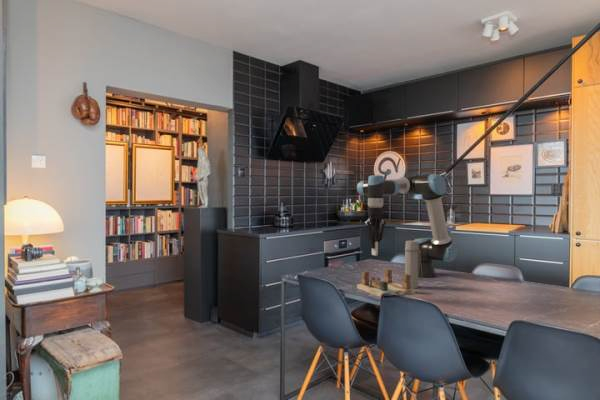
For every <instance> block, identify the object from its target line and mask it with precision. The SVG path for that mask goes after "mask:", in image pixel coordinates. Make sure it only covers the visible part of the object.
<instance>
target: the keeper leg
mask: <svg viewBox="0 0 600 400" xmlns="http://www.w3.org/2000/svg"><path fill="white" fill-rule="evenodd" d="M369 283H370V287H376V288H379V289H381V290H383V291H384V290H388V282H385V280H383V281H382V280H380V281H379V280H377V278H376V277H374V276H369Z"/></svg>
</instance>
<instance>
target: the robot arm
mask: <svg viewBox="0 0 600 400" xmlns="http://www.w3.org/2000/svg"><path fill="white" fill-rule="evenodd" d="M446 190H447V183H446V181H445V178H444V177H443V176H442V175H441V174H435V173H428V174H426V173H425V174H413V175H408V176H402V177H399V178H397V179H396V178H395V179H394V178H393V179H385V177H384V175H381V174H380V175H379V174H377V175H376V174H375V175H371V174H370V175H369V176H368V180H361V181H359V182H358V183H357V186H356V191H357V193H358V195H361V196H367V206H368V207H367V216H368V217H367V220H365V221H364V222H363V223H364V226H365V230H366V231H365V232H366V236H367V241H369V242H370V249H371V255H372V256H378V255H379V254H378V253H379V244H380V242H381V241H382V240H383V236H384V230H385V225H386V223H387V221H386V220H384V219H383V215H384V196H396V195H397V194H398V193H400V194H403V195H404V194H409V195H421V198H422V200H423V201H424V202H425V204H426V209H427V214H428V215H427V216H428V219H429V225H430V229H431V235H432V237H426V238H425V237H422V238H421V237H420V238H415V239H414V240H413V241H418V245H419V251H421V252H420V254H419V255H420V258H421V262H420V265H419V263H418V278H421V277H422V278H433V277H436V270H435V268H434V263H433V261H438V262H439V261H440V262H444V263H446V262H448V263H450V262H453V261H455V259H456V257H457V254H458V244H457V243H456V242H454V241H453V240H452V237H451V236H450V235H449V233H448V229H447V223H446V217H445V211H444V207H443V206H444V205H443V201H442V198H443V197H444V194H445V193H446ZM419 251H418V252H419ZM421 267H422V272H421Z"/></svg>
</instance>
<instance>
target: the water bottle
mask: <svg viewBox="0 0 600 400" xmlns="http://www.w3.org/2000/svg"><path fill="white" fill-rule="evenodd" d="M418 251H419V245H418V241H414V240H406V241H405V248H404V274H408V275H411V278H410V288H413V289H418V287H419V280H423V279H422V278H423V277H418V263H419V265H420V262H421V258H420V255H419V254H420V252H421V251H419V252H418ZM421 272H422V267H421Z"/></svg>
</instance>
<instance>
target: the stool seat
mask: <svg viewBox="0 0 600 400" xmlns="http://www.w3.org/2000/svg"><path fill="white" fill-rule="evenodd" d="M410 278H411V275H408V274H405V273H404V274H402V284H400V283H396V282H393V270H392V269H390V268H386V269H384V281H385V282H388V287H390V288H393V289H396V290H399V291H396V292H388V293H390V294H397V295H396V296H404V295H411V294H416V288H414V289H413V288H410ZM376 280H379V281H381V279H380V277H376ZM356 286H357V289H359V290H361V291H364V292H366V293H369V294H370V295H373V296H377V297H379V298H382V297H381V295H382V294H384V293H381V292H378V291H376V290H373V289H371V288H375V287H370V272H369V271H367V270H365V271H362V270H361V281H360V283H357V284H356Z"/></svg>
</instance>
